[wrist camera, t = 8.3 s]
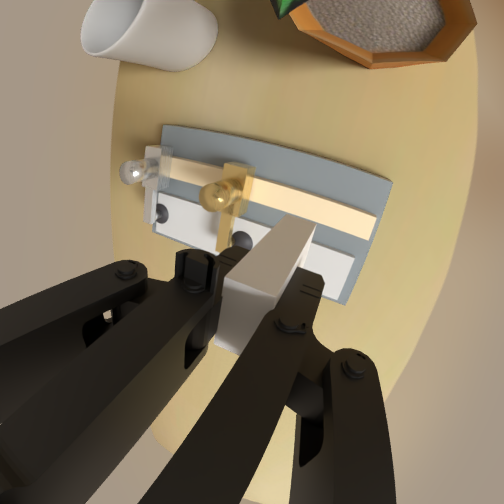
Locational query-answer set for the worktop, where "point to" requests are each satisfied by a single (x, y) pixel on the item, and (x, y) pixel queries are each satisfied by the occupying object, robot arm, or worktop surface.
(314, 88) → the worktop surface
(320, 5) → the potted plant
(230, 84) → the worktop surface
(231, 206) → the brass slider pointer
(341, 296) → the board
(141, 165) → the fixed leg
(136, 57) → the mug
